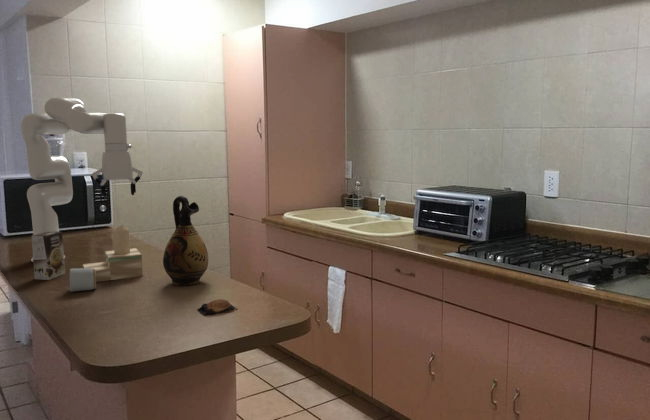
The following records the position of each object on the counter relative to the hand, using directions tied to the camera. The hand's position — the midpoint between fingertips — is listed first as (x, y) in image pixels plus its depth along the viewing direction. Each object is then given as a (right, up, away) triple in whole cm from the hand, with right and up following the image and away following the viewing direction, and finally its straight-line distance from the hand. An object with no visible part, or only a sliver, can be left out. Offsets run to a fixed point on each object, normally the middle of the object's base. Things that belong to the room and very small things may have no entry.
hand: (118, 195), depth 207 cm
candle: (0, -21, +3) cm, 21 cm away
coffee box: (-26, -30, +2) cm, 39 cm away
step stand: (-3, -29, +2) cm, 30 cm away
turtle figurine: (+43, -36, -38) cm, 68 cm away
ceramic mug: (-7, -32, -15) cm, 36 cm away
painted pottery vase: (+26, -31, -7) cm, 41 cm away
